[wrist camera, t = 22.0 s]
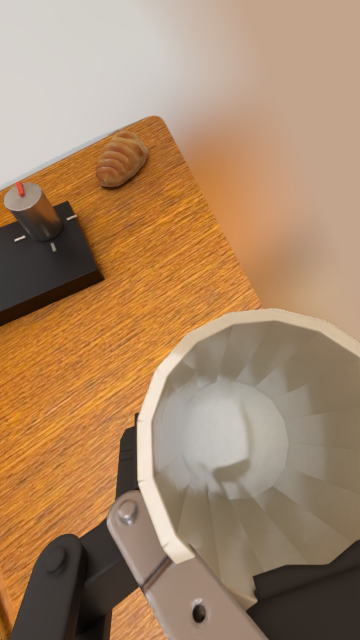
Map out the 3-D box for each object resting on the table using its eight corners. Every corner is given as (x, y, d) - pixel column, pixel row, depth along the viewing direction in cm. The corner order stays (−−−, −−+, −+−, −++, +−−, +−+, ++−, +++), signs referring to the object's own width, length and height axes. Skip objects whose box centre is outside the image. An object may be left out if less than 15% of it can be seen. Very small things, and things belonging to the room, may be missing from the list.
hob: (75, 209, 40) (67, 195, 37) (106, 278, 34) (99, 267, 32) (-47, 259, 37) (-64, 246, 35) (-33, 341, 32) (-52, 333, 30)
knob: (66, 234, 34) (43, 199, 29) (33, 246, 34) (4, 213, 29) (58, 211, 36) (36, 175, 31) (27, 222, 36) (-1, 187, 31)
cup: (249, 358, 17) (306, 272, 8) (317, 465, 15) (518, 519, 5) (154, 408, 16) (97, 377, 7) (209, 531, 14) (229, 730, 5)
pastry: (126, 195, 40) (118, 172, 36) (88, 186, 41) (78, 163, 38) (151, 156, 43) (147, 131, 40) (116, 148, 45) (108, 124, 41)
